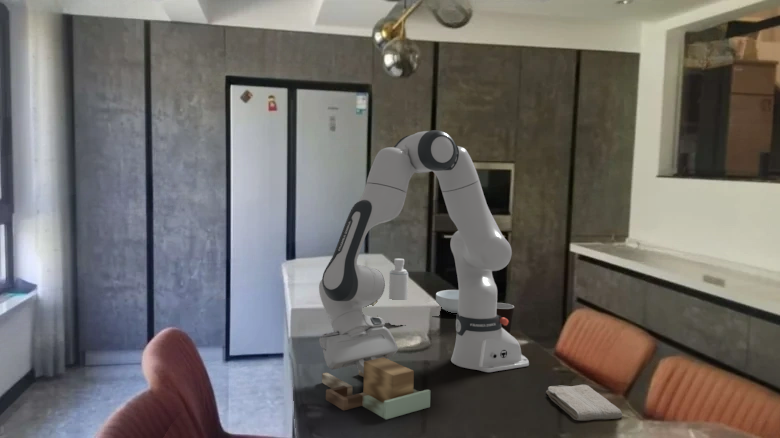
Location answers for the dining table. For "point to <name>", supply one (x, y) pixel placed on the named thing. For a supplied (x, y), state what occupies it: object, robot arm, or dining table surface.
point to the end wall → (406, 404)
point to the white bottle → (398, 281)
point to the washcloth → (583, 402)
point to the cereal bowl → (448, 300)
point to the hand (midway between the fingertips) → (372, 376)
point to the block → (387, 379)
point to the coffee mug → (505, 314)
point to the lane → (350, 395)
